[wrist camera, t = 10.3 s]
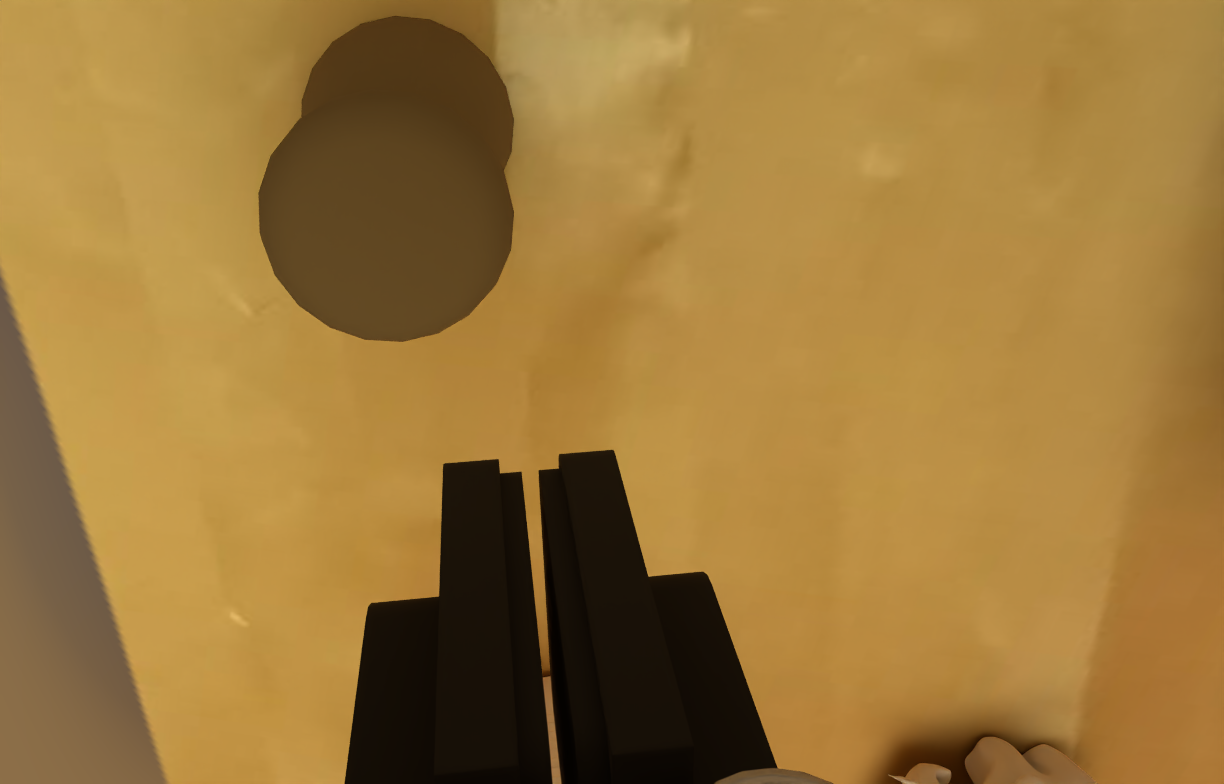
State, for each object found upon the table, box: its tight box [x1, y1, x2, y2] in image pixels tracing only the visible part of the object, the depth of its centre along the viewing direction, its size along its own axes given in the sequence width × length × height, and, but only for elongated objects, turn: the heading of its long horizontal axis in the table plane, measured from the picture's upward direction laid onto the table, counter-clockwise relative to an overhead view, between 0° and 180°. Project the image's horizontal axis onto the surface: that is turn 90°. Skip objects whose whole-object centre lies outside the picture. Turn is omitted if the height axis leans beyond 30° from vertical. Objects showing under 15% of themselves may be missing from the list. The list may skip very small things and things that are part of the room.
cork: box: [259, 16, 514, 342], centre depth 25 cm, size 6×6×11 cm
